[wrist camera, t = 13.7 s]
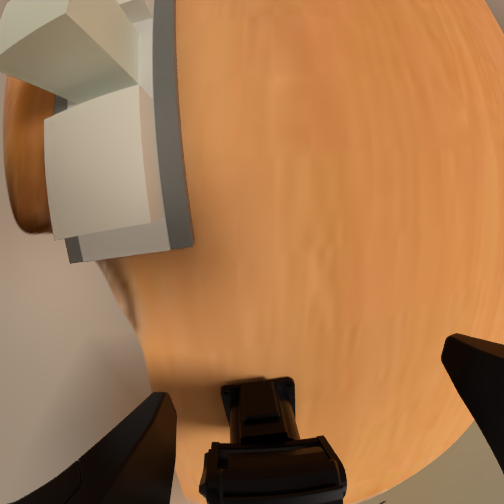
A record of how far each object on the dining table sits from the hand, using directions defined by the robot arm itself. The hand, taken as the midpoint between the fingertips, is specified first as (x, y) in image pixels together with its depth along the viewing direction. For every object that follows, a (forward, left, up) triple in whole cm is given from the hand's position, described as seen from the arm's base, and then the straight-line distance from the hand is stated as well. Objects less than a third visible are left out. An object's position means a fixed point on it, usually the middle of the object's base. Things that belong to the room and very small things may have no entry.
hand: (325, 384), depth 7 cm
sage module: (+16, +10, -12) cm, 22 cm away
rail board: (+16, +10, -13) cm, 23 cm away
